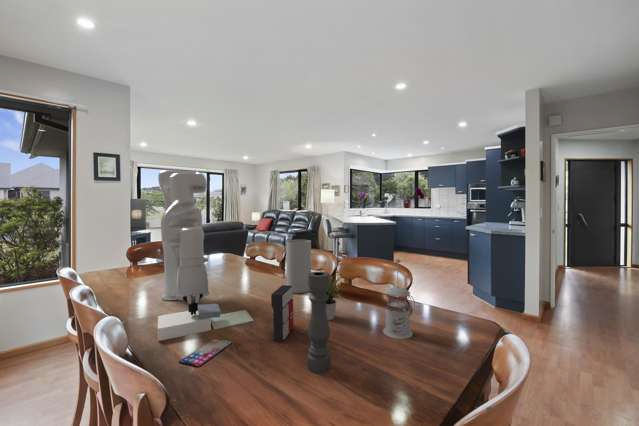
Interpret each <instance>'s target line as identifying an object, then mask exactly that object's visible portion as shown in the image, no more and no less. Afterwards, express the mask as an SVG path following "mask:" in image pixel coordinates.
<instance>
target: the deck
mask: <svg viewBox="0 0 639 426" xmlns="http://www.w3.org/2000/svg"><path fill="white" fill-rule="evenodd" d="M211 330H212V324H211V318H204V319H199V318H198V311H196V314H195V315H194V313H193V315H191V312H189V310H186V311H181V312H175V313H167V314H162V315H158V317H157V342H161V341H165V340H170V339H176V338H179V337H185V336H189V335H193V334H199V333H204V332H209V331H211Z"/></svg>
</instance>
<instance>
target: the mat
mask: <svg viewBox="0 0 639 426" xmlns="http://www.w3.org/2000/svg"><path fill="white" fill-rule="evenodd" d="M252 322H255V321H254V318H252V317H251V315H250V314H249V312H248V311H247V310H246V309H243V310H239V311H232V312H228V313H222V314H221V313H220V317H215V318H211V327H213V330H218V329H223V328H228V327H229V328H230V327H235V326H237V325H238V326H239V325H243V324H249V323H252Z"/></svg>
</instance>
